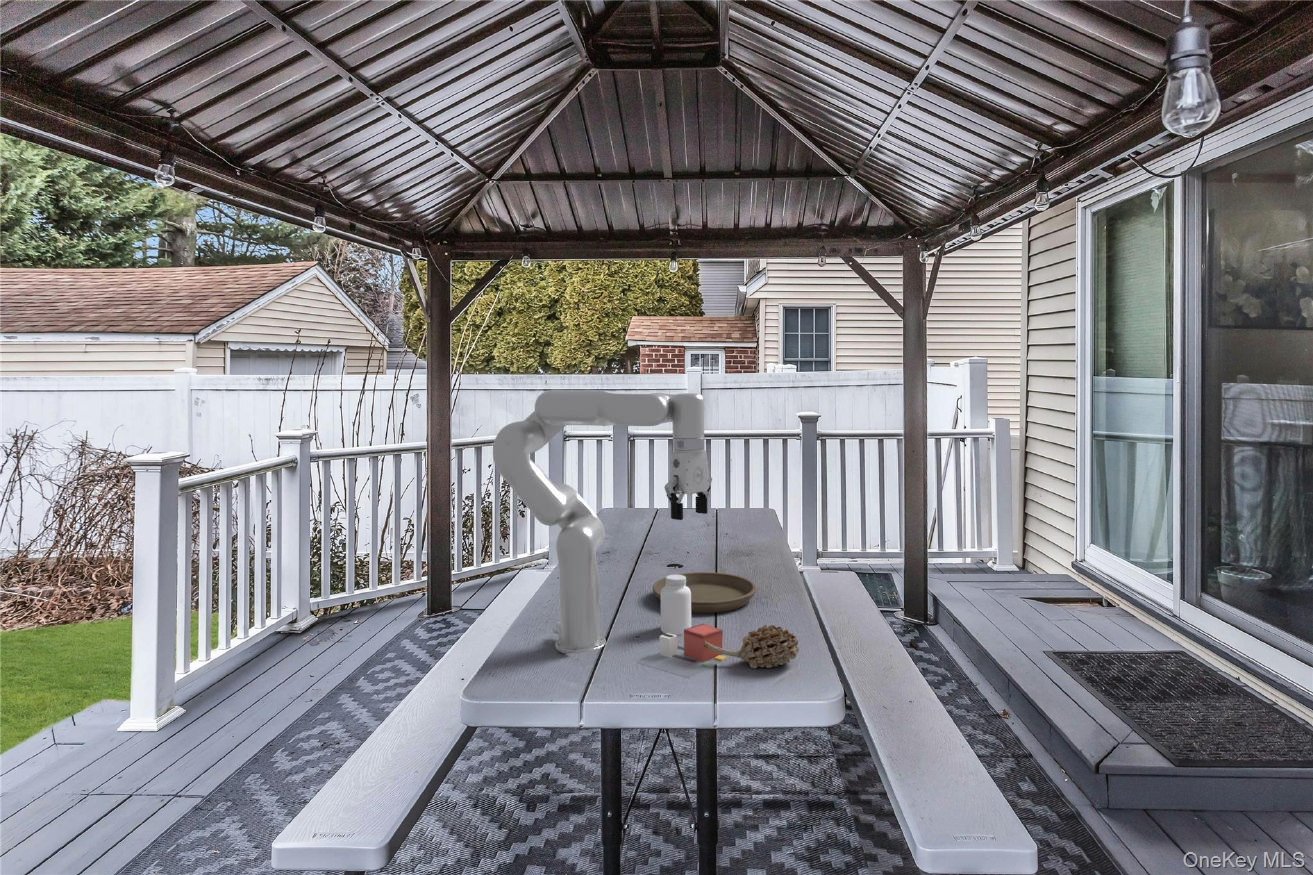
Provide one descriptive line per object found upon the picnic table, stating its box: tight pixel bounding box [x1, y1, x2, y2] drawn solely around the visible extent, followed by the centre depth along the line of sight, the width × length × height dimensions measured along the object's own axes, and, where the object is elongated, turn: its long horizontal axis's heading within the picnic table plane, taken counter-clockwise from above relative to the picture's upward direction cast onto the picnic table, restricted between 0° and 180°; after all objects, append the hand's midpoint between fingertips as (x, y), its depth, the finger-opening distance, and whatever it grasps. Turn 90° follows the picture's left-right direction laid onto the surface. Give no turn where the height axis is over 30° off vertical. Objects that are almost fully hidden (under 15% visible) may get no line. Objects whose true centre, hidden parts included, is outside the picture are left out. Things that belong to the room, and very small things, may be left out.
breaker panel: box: [637, 633, 732, 679], centre depth 178 cm, size 15×18×6 cm
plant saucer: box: [652, 571, 757, 614], centre depth 228 cm, size 31×31×5 cm
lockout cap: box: [683, 623, 723, 662], centre depth 180 cm, size 6×6×6 cm
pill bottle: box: [660, 574, 692, 636], centre depth 198 cm, size 8×8×15 cm
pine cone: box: [704, 624, 800, 669], centre depth 174 cm, size 22×10×10 cm, turn 88°
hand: (689, 516), depth 183 cm, fingers open, 9 cm apart
